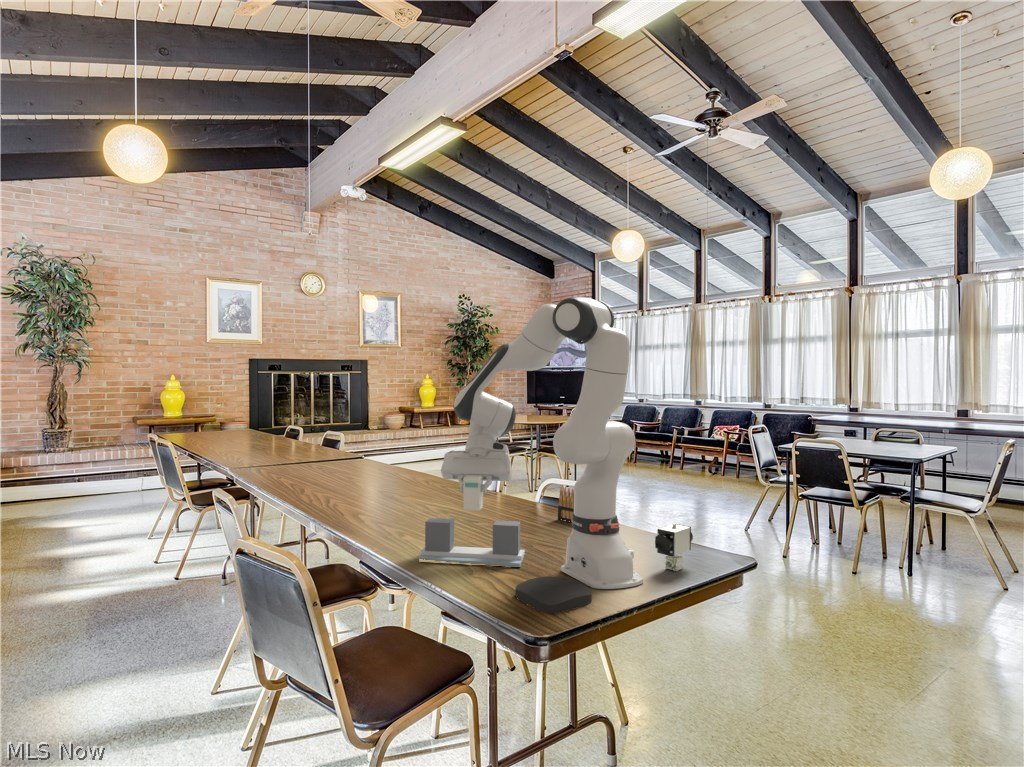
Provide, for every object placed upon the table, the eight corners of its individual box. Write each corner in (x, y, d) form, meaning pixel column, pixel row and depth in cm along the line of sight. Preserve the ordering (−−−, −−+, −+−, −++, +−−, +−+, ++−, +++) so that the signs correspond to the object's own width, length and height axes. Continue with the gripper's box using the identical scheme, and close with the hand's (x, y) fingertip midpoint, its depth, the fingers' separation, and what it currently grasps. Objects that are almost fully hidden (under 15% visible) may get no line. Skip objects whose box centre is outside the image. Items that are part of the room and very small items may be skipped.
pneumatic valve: (693, 566, 150) (693, 521, 150) (670, 576, 142) (670, 529, 142) (674, 561, 154) (675, 518, 154) (651, 570, 146) (651, 525, 146)
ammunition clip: (557, 519, 200) (557, 486, 200) (560, 518, 202) (561, 485, 202) (581, 525, 193) (581, 490, 193) (584, 524, 194) (584, 489, 194)
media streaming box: (548, 618, 116) (548, 604, 116) (508, 596, 128) (508, 583, 128) (599, 602, 125) (599, 589, 125) (556, 583, 137) (557, 571, 137)
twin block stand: (520, 567, 147) (520, 529, 147) (417, 562, 151) (418, 525, 151) (525, 554, 159) (525, 518, 159) (430, 549, 163) (430, 514, 163)
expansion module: (479, 510, 152) (479, 478, 152) (463, 510, 153) (463, 477, 153) (482, 506, 157) (483, 474, 157) (467, 506, 158) (467, 474, 158)
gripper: (443, 444, 163) (434, 483, 154) (512, 445, 160) (507, 485, 151) (447, 457, 168) (438, 496, 158) (514, 458, 165) (509, 498, 155)
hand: (472, 490), depth 154 cm, fingers closed on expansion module, 4 cm apart
